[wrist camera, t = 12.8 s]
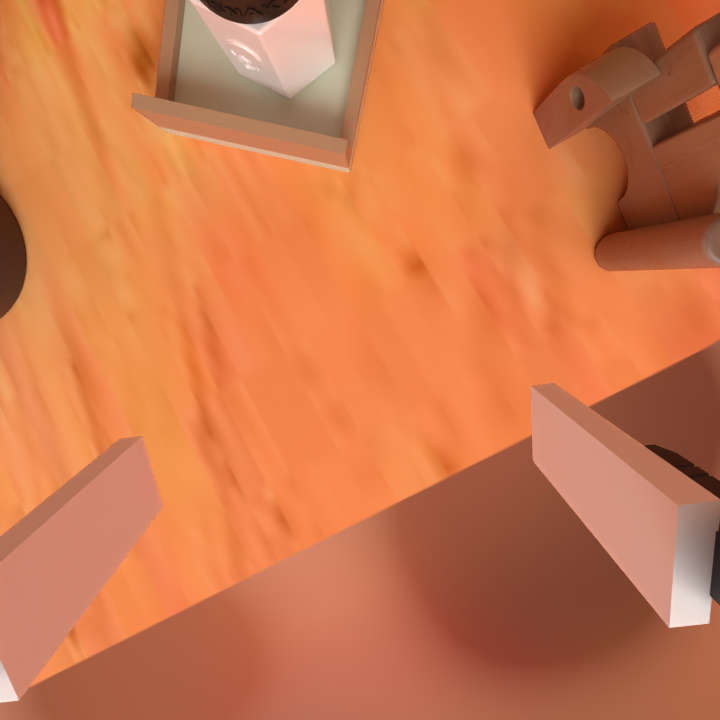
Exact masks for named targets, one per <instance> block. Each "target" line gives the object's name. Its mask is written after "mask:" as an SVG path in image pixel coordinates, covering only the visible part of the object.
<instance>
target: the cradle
mask: <svg viewBox="0 0 720 720" xmlns="http://www.w3.org/2000/svg"><path fill="white" fill-rule="evenodd" d="M330 1H331V12H332V24H333V35H334V46H335V58H336V61H335V63H334V64H333V65H332V66H331V67H330V68H328V69H327V70H326V71H325V72H323V73H322V74H321V75H320V76H318V77H317V78H316V79H315V80H313V81H312V82H311V83H310V84H309V85H307V86H306V87H305V88H304V89H302V90H301V91H300V92H299V93H297V94H296V95H295V96H294V97H292V98H291V99H288V98H286V97H284V96H282V95H280V94H278V93H276V92H274V91H272V90H270V89H268V88H266V87H264V86H262V85H260V84H258V83H256V82H254V81H252V80H250V79H248V78H246V77H244V76H242V75H240V74H239V73H238V72H237V70H236V69H235V67H234V66H233V64H232V63H231V61H230V60H229V59H228V57H227V56H226V54H225V53H224V51H223V50H222V48H221V47H220V45H219V44H218V42H217V41H216V39H215V38H214V36H213V35H212V33H211V32H210V30H209V29H208V27H207V26H206V24H205V23H204V21H203V20H202V18H201V17H200V15H199V14H198V12H197V11H196V9H195V8H194V6H193V5H192V3H191V2H190V0H166V3H165V12H164V21H163V31H162V40H161V49H160V58H159V67H158V77H157V86H156V95H155V97H150V96H146V95H141V94H137V93H133V94H132V105H131V108H133V109H134V110H136V111H137V112H139V113H140V114H141V115H143V116H144V117H146V118H147V119H149V120H150V121H151V122H153V123H154V124H156V125H157V126H159V127H160V128H161V129H163V130H164V131H166V132H167V133H171V134H175V135H180V136H184V137H189V138H194V139H198V140H203V141H207V142H212V143H216V144H221V145H225V146H230V147H234V148H239V149H244V150H248V151H253V152H257V153H262V154H266V155H271V156H275V157H280V158H285V159H289V160H294V161H298V162H303V163H307V164H312V165H316V166H321V167H325V168H330V169H335V170H339V171H344V172H348V173H350V169H351V164H352V159H353V154H354V149H355V144H356V139H357V134H358V129H359V124H360V118H361V113H362V108H363V103H364V98H365V93H366V88H367V83H368V78H369V73H370V68H371V63H372V57H373V52H374V47H375V42H376V37H377V32H378V27H379V22H380V17H381V12H382V7H383V2H384V0H330Z"/></svg>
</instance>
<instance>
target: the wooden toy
mask: <svg viewBox="0 0 720 720" xmlns="http://www.w3.org/2000/svg"><path fill="white" fill-rule="evenodd" d="M717 84H718V86H719V89H720V13H718V14H716V15H715V16H713V17H711V18H709V19H708V20H706V21H704V22H702V23H701V24H699V25H697V26H696V27H694V28H693V29H691V30H690V31H689V32H688V33H686V34H685V35H684V36H683V37H681V38H680V39H679V40H677V41H676V42H675V43H674V44H672V45H671V46H670V47H669V48H667V49H666V50H665V48H664V45H663V42H662V40H661V37H660V35H659V32H658V29H657V27H656V24H655V23H654V22H652V23H649V24H647V25H645V26H644V27H642V28H640V29H638V30H637V31H635V32H633V33H632V34H630V35H628V36H626V37H625V38H623V39H621V40H620V41H618V42H616V43H615V44H613V45H611V46H610V47H609V48H608V49H607V50H606V51H605V52H604V53H603V54H602V55H601V56H600V57H599V58H597V59H595V60H593V61H592V62H590V63H588V64H587V65H585V66H583V67H582V68H580V69H578V70H577V71H575V72H573V73H572V74H570V75H569V76H567V77H566V78H565V79H563V80H562V81H561V83H560V84H559V85H558V86H557V87H556V88H555V89H554V90H553V91H552V92H551V93H550V94H549V96H548V97H547V98H546V99H545V100H544V101H543V102H542V103H541V104H540V105H539V106H538V108H537V109H536V110H535V111H534V112H533V113H534V116H535V118H536V120H537V123H538V125H539V127H540V129H541V132H542V134H543V136H544V139H545V141H546V143H547V145H548V147H549V149H550V148H552V147H554V146H555V145H557V144H559V143H561V142H563V141H564V140H566V139H568V138H570V137H571V136H573V135H575V134H577V133H578V132H580V131H582V130H584V129H585V128H587V129H588V128H592V127H597V128H600V129H602V130H605V131H606V132H607V133H608V134H609V135H610V136H611V137H612V138H613V139H614V140H615V141H616V143H617V144H618V146H619V148H620V150H621V152H622V153H623V155H624V159H625V162H626V166H627V169H628V188H627V190H626V193H625V196H624V197H622V198H621V199H620V200H619V201H618V206H619V208H620V211H621V213H622V215H623V218H624V220H625V222H626V225H627V227H628V229H629V230H628V231H622V232H617V233H612V234H610V235H607V236H605V237H604V238H603V239H601V241H600V242H599V243H598V245H597V247H596V250H595V258H596V262H597V263H598V265H599V266H600V267H601V268H603V269H604V270H607V271H634V270H665V269H696V268H720V110H719V111H717V112H715V113H713V114H711V115H709V116H707V117H705V118H703V119H701V120H699V121H697V122H695V123H693V120H692V118H691V115H690V113H689V110H688V107H687V105H686V102H687V101H689V100H691V99H693V98H694V97H696V96H698V95H700V94H701V93H703V92H705V91H707V90H708V89H710V88H712V87H714V86H715V85H717Z"/></svg>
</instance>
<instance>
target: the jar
mask: <svg viewBox="0 0 720 720" xmlns="http://www.w3.org/2000/svg"><path fill="white" fill-rule="evenodd" d="M190 2H191V3H192V5H193V6H194V8H195V9H196V11H197V12H198V14H199V15H200V17H201V18H202V20H203V21H204V23H205V24H206V26H207V27H208V29H209V30H210V32H211V33H212V35H213V36H214V38H215V39H216V41H217V42H218V44H219V45H220V47H221V48H222V50H223V51H224V53H225V54H226V56H227V57H228V59H229V60H230V61H231V63H232V64H233V66H234V67H235V69H236V70H237V72H238V73H239V74H240V75H242V76H244V77H246V78H248V79H250V80H252V81H254V82H256V83H258V84H260V85H262V86H264V87H266V88H268V89H270V90H272V91H274V92H276V93H278V94H280V95H282V96H284V97H286V98H288V99H291V98H292V97H294V96H295V95H296V94H297V93H299V92H300V91H301V90H302V89H304V88H305V87H306V86H307V85H309V84H310V83H311V82H312V81H313V80H315V79H316V78H317V77H318V76H320V75H321V74H322V73H323V72H325V71H326V70H327V69H328V68H330V67H331V66H332V65H333V64H334V63H335V61H336V58H335V46H334V35H333V24H332V12H331V1H330V0H190Z"/></svg>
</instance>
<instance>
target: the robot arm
mask: <svg viewBox="0 0 720 720" xmlns="http://www.w3.org/2000/svg"><path fill="white" fill-rule="evenodd" d="M25 270H26V255H25V247H24V242H23V238H22V235H21V232H20V229H19V226H18V224H17V222H16V220H15V218H14V216H13V214H12V212H11V210H10V209H9V207H8V206H7V204H6V203H5V202H4V200H3V199H2V198H1V197H0V318H2V317H3V316H4V315H5V314H6V313H7V312H8V311H9V310H10V308H11V307H12V306H13V304H14V303H15V301H16V300H17V298H18V296H19V294H20V291H21V289H22V286H23V282H24V277H25ZM531 413H532V444H533V461H534V463H535V464H536V465H537V466H538V468H539V469H540V470H541V471H542V472H543V474H544V475H545V476H546V477H547V478H548V480H549V481H550V482H551V483H552V485H553V486H554V487H555V488H556V490H557V491H558V492H559V493H560V494H561V496H562V497H563V498H564V499H565V500H566V502H567V503H568V504H569V505H570V507H571V508H572V509H573V510H574V512H575V513H576V514H577V515H578V516H579V518H580V519H581V520H582V521H583V523H584V524H585V525H586V526H587V528H589V530H590V531H591V532H592V534H593V535H594V536H595V537H596V539H597V540H598V541H599V542H600V543H601V545H602V546H603V547H604V548H605V550H606V551H607V552H608V553H609V554H610V556H611V557H612V558H613V559H614V561H615V562H616V563H617V564H618V566H619V567H620V568H621V569H622V570H623V571H624V573H625V574H626V575H627V576H628V578H629V579H630V580H631V581H632V583H633V584H634V585H635V586H636V588H637V589H638V590H639V591H640V592H641V594H642V595H643V596H644V597H645V599H646V600H647V601H648V602H649V603H650V605H651V606H652V607H653V608H654V610H655V611H656V612H657V613H658V614H659V616H660V617H661V618H662V619H663V620H664V622H665V623H666V624H667V625H668V627H669V628H672V627H680V626H689V625H698V624H707V623H709V618H710V608H711V599H712V598H713V599H714V600H715V601H716V602H717V603H718V604H719V605H720V481H719V480H717V479H716V478H714V477H713V476H709V474H708V473H706V472H705V471H704V470H702V469H700V468H699V467H695V466H694V464H693V463H691V462H690V461H688V460H687V459H685V458H684V457H682V456H680V455H679V454H677V453H675V452H673V451H670V450H667V449H664V448H662V447H659V446H656V445H646V446H643V445H642V444H640V443H639V442H638V441H636V440H635V439H633V438H632V437H630V436H629V435H628V434H626V433H625V432H623V431H622V430H620V429H619V428H618V427H616V426H614V425H613V424H612V423H610V422H609V421H607V420H606V419H604V418H603V417H602V416H600V415H599V414H598V413H596V412H595V411H593V410H592V409H590V408H589V407H588V406H586V405H585V404H583V403H582V402H580V401H579V400H578V399H576V398H575V397H573V396H572V395H570V394H569V393H568V392H566V391H565V390H563V389H562V388H560V387H559V386H557V385H556V384H555V383H551V384H543V385H535V386H531ZM162 507H163V505H162V502H161V499H160V495H159V492H158V488H157V485H156V482H155V478H154V475H153V471H152V468H151V465H150V461H149V458H148V455H147V451H146V448H145V444H144V441H143V438H142V436H139V437H131V438H124V439H119V440H118V441H117V442H116V443H114V444H113V445H112V446H111V447H110V448H108V449H107V450H106V451H105V452H103V453H102V454H101V455H100V456H99V457H97V458H96V459H95V460H94V461H92V462H91V463H90V464H89V465H88V466H86V467H85V468H84V469H83V470H81V471H80V472H79V473H78V474H77V475H75V476H74V477H73V478H72V479H70V480H69V481H68V482H67V483H66V484H64V485H63V486H62V487H61V488H59V489H58V490H57V491H56V492H55V493H53V494H52V495H51V496H50V497H48V498H47V499H46V500H45V501H44V502H42V503H41V504H40V505H39V506H37V507H36V508H35V509H34V510H33V511H31V512H30V513H29V514H28V515H26V516H25V517H24V518H23V519H22V520H20V521H19V522H18V523H17V524H15V525H14V526H13V527H12V528H11V529H9V530H8V531H7V532H6V533H4V534H3V535H2V536H1V537H0V702H9V701H18V700H19V699H20V698H21V697H22V696H23V694H24V693H25V692H26V690H27V689H28V688H29V686H30V685H31V684H32V682H33V681H34V680H35V678H36V677H37V676H38V674H39V673H40V671H41V670H42V669H43V667H44V666H45V665H46V663H47V662H48V661H49V659H50V658H51V657H52V655H53V654H54V653H55V651H56V650H57V649H58V647H59V646H60V645H61V643H62V642H63V640H64V639H65V638H66V636H67V635H68V634H69V632H70V631H71V630H72V628H73V627H74V626H75V624H76V623H77V622H78V620H79V619H80V618H81V616H82V615H83V614H84V612H85V611H86V609H87V608H88V607H89V605H90V604H91V603H92V601H93V600H94V599H95V597H96V596H97V595H98V593H99V592H100V591H101V589H102V588H103V587H104V585H105V584H106V583H107V581H108V580H109V579H110V577H111V576H112V574H113V573H114V572H115V570H116V569H117V568H118V566H119V565H120V564H121V562H122V561H123V560H124V558H125V557H126V556H127V554H128V553H129V552H130V550H131V549H132V548H133V546H134V545H135V543H136V542H137V541H138V539H139V538H140V537H141V535H142V534H143V533H144V531H145V530H146V529H147V527H148V526H149V525H150V523H151V522H152V521H153V519H154V518H155V517H156V515H157V514H158V513H159V511H160V510H161V508H162Z"/></svg>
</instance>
